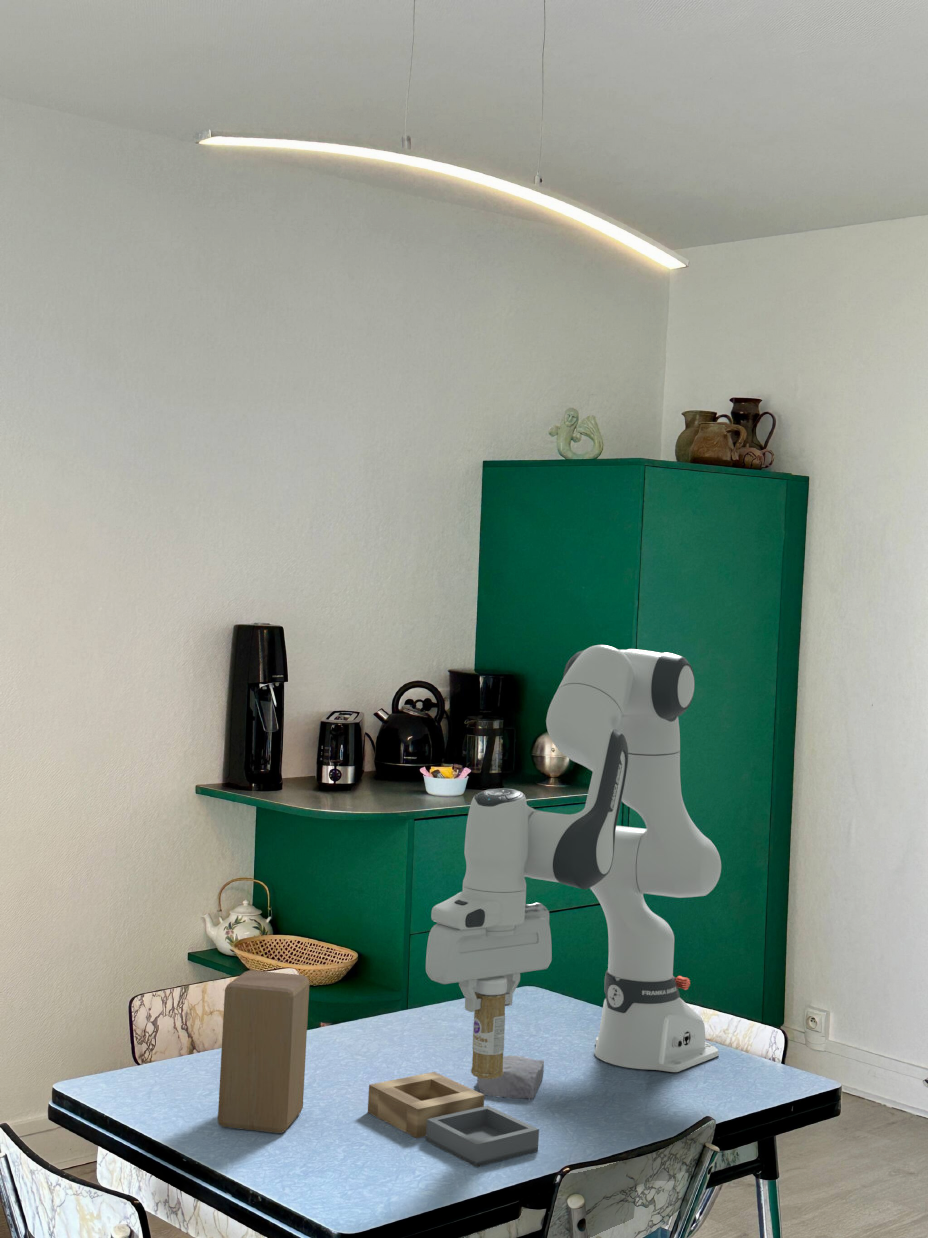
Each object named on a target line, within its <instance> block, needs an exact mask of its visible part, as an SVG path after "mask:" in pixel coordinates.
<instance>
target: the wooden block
mask: <svg viewBox="0 0 928 1238" xmlns="http://www.w3.org/2000/svg"><path fill="white" fill-rule="evenodd" d="M224 988H225V989H224V997H223V998H224V999H223V1018H222V1036H221V1053H220V1055H221V1056H220V1068H219V1069H220V1072H219V1087H218V1088H219V1089H218V1090H219V1092H218V1105H217V1106H218V1109H217V1110H218V1111H217V1122H218V1125H219V1127H220V1126H221V1127H223V1128H228V1127H229V1129H237V1128H238V1129H239V1130H246V1129H247V1131H255V1130H256V1132H264V1131H265V1132H266V1133H274V1134H275V1133H276V1134H282V1133H284V1132H286V1130H287V1129H288V1128H289V1127H290V1126H291V1125H292V1123H293V1122H294V1121H295V1120H296V1118H298V1116H299V1115H300V1114H301V1112H302V1111H303V1108H304V1107H303V1106H304V1091H305V1074H306V1073H305V1071H306V1053H307V1038H308V1037H307V1034H308V1018H309V1017H308V1015H309V999H310V997H309V996H310V995H309V994H310V980H309V977H308V976H306V975H304V974H295V973H287V972H286V973H285V972H284V973H283V972H276V971H275V972H273V971H263V970H262V971H261V970H252V969H250V970H247V971H244V972H243V973H242V974H241V975H239V976H237V977H236V978H235V979H233V980H231V982H229V983H227V984H226V986H225V987H224ZM265 1132H264V1133H265Z"/></svg>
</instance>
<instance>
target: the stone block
mask: <svg viewBox="0 0 928 1238" xmlns="http://www.w3.org/2000/svg"><path fill="white" fill-rule="evenodd" d="M544 1068H545V1060H544V1059H534V1058H529V1057H525V1056H523V1055H521V1056H520V1055H505V1056H504V1055H503V1075H502V1076H501V1077H498V1078H494V1079H482V1078H478V1077H476V1078H477V1079H476V1082H477V1083H476V1084H477V1088H478V1089H479V1093H481V1094H484V1096H490V1097H491V1096H492V1097H496V1098H500V1097H501V1098H512V1099H523V1100H533V1099H535V1097H536V1094H537V1092H538V1091H539V1088H540V1085H541V1084H542V1081H543V1077H544V1073H545V1072H544V1071H545V1070H544Z"/></svg>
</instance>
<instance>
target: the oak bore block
mask: <svg viewBox="0 0 928 1238" xmlns="http://www.w3.org/2000/svg"><path fill="white" fill-rule="evenodd" d="M367 1100H368V1101H367V1113H369V1114H371V1115H372V1116H374V1117H376V1118H378V1119H380V1120H382V1122H383V1121H384V1122H385V1123H387V1124H389V1125H391V1126H393V1127H394V1128H396V1129H399V1130H400V1131H402V1132H404V1133H405V1134H408V1135H410V1136H412V1137H414V1138H416V1139H419V1138H423V1137H426V1129H427V1119H430V1118H434V1117H439V1116H443V1115H448V1114H452V1113H457V1112H461V1111H466V1110H470V1109H475V1108H479V1107H483V1106H485V1094H482V1093H481V1092H480V1091H477V1090H475V1089H472V1088H470V1087H468V1086H466V1085H464V1084H462V1083H460V1082H457V1081H455V1080H453V1079H451V1078H448V1077H447V1076H445V1075H442V1074H440V1073H437V1072H436V1071H432V1072H426V1073H422V1074H416V1075H412V1076H406V1077H401V1078H396V1079H392V1080H390V1079H389V1080H386V1081H382V1082H375V1083H371V1084H369V1085H368V1098H367Z"/></svg>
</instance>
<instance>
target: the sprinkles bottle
mask: <svg viewBox="0 0 928 1238" xmlns="http://www.w3.org/2000/svg"><path fill="white" fill-rule="evenodd" d="M473 990H474V992H475V995H476V997H479V998H481V1004H480V1006H481V1009H480V1010H479V1011H474V1012H473V1013H474V1014H473V1016H474V1017H473V1023H472V1024H473V1026H472V1027H473V1029H472V1030H473V1031H472V1065H471V1070H470V1073H471V1075H472V1076H473V1077H476V1078H477V1077H478V1078H482V1079H494V1078H498V1077H501V1076H502V1075H503V1057H504V1051H505V1030H506V1029H505V1027H506V1025H505V1024H506V1006H505V995H506V991H507V979H506V978H505V977H503V976H496V977H489V978H483V979H477V982H476V987H473Z"/></svg>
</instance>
